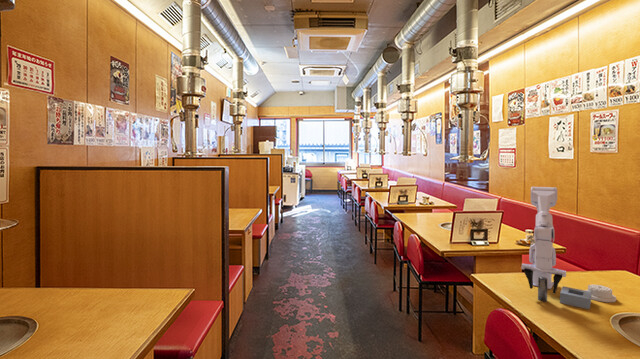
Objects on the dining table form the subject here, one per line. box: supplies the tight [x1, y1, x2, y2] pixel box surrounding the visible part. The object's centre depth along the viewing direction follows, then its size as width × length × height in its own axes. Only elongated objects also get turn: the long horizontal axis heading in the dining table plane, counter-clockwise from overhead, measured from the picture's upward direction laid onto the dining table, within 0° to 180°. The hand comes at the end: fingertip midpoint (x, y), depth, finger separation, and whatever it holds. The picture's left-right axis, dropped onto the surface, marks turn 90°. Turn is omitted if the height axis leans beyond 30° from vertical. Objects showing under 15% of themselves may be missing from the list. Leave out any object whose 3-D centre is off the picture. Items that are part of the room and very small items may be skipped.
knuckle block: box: [559, 285, 592, 310], centre depth 127 cm, size 9×9×4 cm
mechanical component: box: [584, 283, 617, 303], centre depth 132 cm, size 10×4×10 cm
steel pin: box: [537, 277, 548, 302], centre depth 130 cm, size 3×3×9 cm
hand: (542, 290), depth 129 cm, fingers open, 7 cm apart
